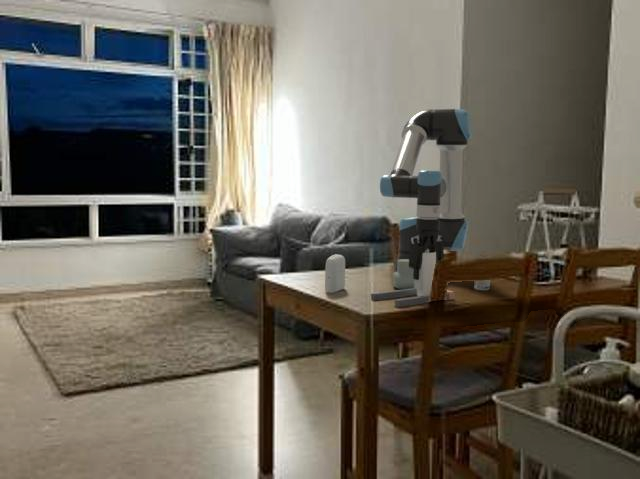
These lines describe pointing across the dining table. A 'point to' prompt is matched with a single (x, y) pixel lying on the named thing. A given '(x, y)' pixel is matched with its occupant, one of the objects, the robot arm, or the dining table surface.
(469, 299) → the dining table surface
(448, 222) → the robot arm
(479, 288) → the energy drink
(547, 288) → the dining table surface
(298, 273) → the dining table surface
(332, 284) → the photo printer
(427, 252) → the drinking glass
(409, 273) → the air freshener
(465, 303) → the dining table surface
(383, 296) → the guide channel
